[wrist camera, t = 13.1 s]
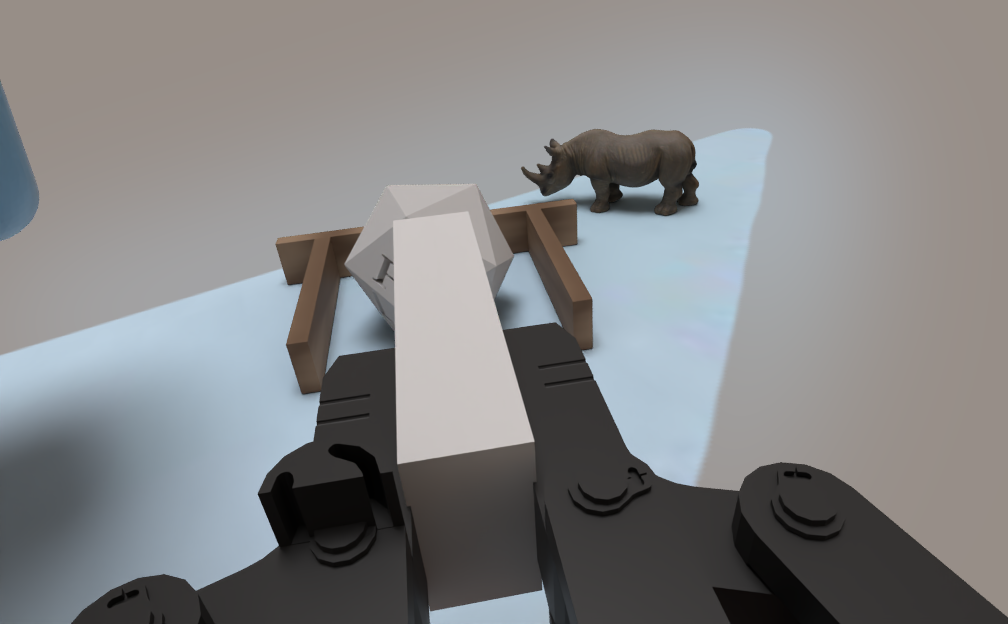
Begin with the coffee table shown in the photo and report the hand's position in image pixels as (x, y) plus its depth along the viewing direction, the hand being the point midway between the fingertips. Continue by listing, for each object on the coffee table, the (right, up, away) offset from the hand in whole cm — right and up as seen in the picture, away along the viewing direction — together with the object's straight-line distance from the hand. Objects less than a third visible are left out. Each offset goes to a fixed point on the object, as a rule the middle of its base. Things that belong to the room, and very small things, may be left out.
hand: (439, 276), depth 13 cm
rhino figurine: (+10, +8, +36) cm, 38 cm away
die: (-2, -1, +23) cm, 23 cm away
